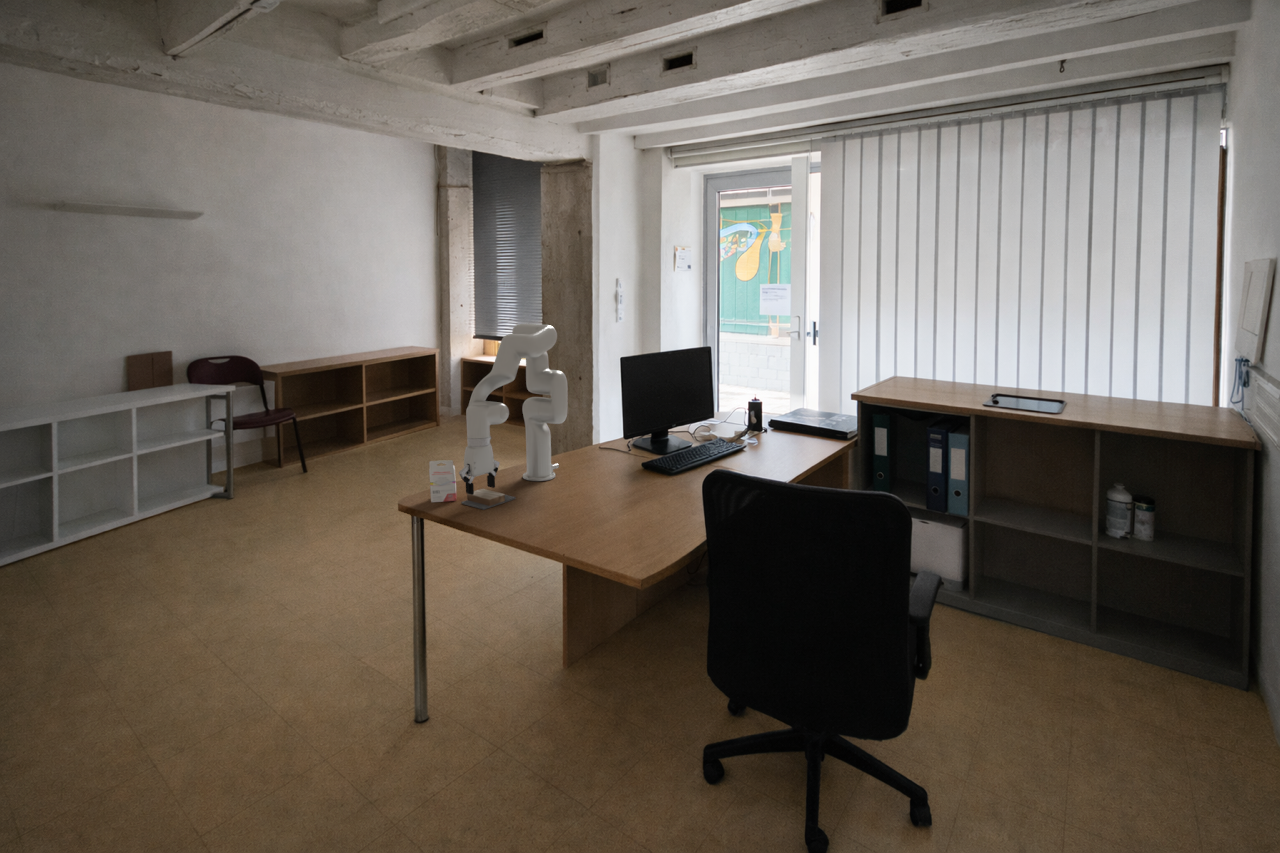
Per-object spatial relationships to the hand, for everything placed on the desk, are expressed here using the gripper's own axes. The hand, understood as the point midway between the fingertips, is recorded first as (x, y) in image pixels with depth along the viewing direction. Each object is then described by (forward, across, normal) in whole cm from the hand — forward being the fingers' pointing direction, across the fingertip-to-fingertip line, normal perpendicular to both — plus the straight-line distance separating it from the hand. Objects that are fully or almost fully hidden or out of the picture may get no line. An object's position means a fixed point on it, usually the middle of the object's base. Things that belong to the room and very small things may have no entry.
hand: (480, 490), depth 241 cm
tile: (+3, -6, 0) cm, 6 cm away
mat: (+5, -4, 0) cm, 6 cm away
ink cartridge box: (+5, +4, -14) cm, 16 cm away
